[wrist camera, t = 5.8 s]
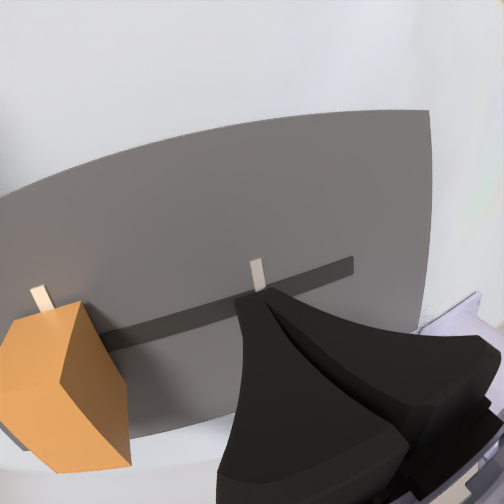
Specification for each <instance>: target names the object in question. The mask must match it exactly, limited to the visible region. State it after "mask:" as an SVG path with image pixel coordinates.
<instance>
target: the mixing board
mask: <svg viewBox="0 0 504 504" xmlns="http://www.w3.org/2000/svg"><path fill="white" fill-rule="evenodd" d="M431 212H432V147H431V129H430V117H429V111H428V110H364V111H345V112H331V113H319V114H308V115H299V116H290V117H282V118H274V119H267V120H260V121H254V122H247V123H241V124H236V125H230V126H225V127H219V128H214V129H209V130H204V131H200V132H195V133H190V134H186V135H182V136H177V137H173V138H169V139H165V140H161V141H157V142H153V143H150V144H146V145H142V146H139V147H135V148H132V149H128V150H125V151H121V152H118V153H115V154H112V155H108V156H105V157H102V158H99V159H96V160H93V161H90V162H87V163H84V164H81V165H79V166H76V167H73V168H70V169H67V170H65V171H62V172H60V173H57V174H54V175H52V176H49V177H47V178H44V179H42V180H39V181H37V182H34V183H32V184H30V185H27V186H25V187H23V188H20V189H18V190H16V191H14V192H12V193H9V194H7V195H5V196H3V197H1V198H0V346H1V344H2V342H3V340H4V338H5V336H6V335H7V333H8V331H9V329H10V327H11V325H12V323H13V321H14V320H17V319H21V318H24V317H27V316H31V315H34V314H37V313H41V312H44V311H48V310H51V309H54V308H58V307H61V306H65V305H68V304H71V303H75V302H78V301H82V303H83V306H84V308H85V310H86V312H87V314H88V316H89V318H90V320H91V322H92V324H93V326H94V328H95V330H96V332H97V334H98V336H99V338H100V339H101V341H102V343H103V345H104V347H105V349H106V350H107V352H108V354H109V356H110V358H111V359H112V361H113V363H114V365H115V366H116V368H117V370H118V371H119V373H120V375H121V376H122V378H123V380H124V381H125V383H126V384H127V409H128V427H129V439H134V438H139V437H144V436H148V435H153V434H158V433H162V432H166V431H170V430H174V429H178V428H182V427H186V426H190V425H194V424H197V423H201V422H204V421H208V420H211V419H214V418H218V417H221V416H224V415H227V414H230V413H234V412H236V409H237V404H238V399H239V392H240V385H241V377H242V365H243V337H242V333H241V329H240V325H239V321H238V317H237V313H236V309H235V305H234V301H235V300H236V298H239V297H242V296H245V295H248V294H251V293H254V292H257V291H260V290H263V289H266V288H269V287H273V288H275V289H277V290H279V291H281V292H283V293H285V294H287V295H289V296H291V297H293V298H295V299H297V300H299V301H301V302H304V303H306V304H308V305H310V306H312V307H315V308H317V309H319V310H322V311H324V312H327V313H329V314H332V315H334V316H337V317H340V318H343V319H346V320H349V321H352V322H355V323H359V324H362V325H366V326H370V327H374V328H378V329H383V330H388V331H394V332H401V333H407V334H409V333H411V332H413V331H414V330H416V329H417V327H418V322H419V317H420V311H421V306H422V300H423V293H424V286H425V279H426V272H427V263H428V254H429V243H430V230H431ZM0 428H1V429H2V431H3V432H4V433H5V434H6V435H7V436H8V437H9V438H10V439H11V440H12V441H13V442H15V443H16V444H17V445H18V446H19V447H20V448H21V449H22V450H23V451H30V450H29V449H28V448H27V447H26V446H25V445H24V444H23V443H21V442H20V441H19V440H18V439H17V438H16V437H15V436H14V435H13V434H12V433H11V432H10V431H9V430H8V428H7V427H6V426H5V425H4V424H3V423H2V422H1V421H0Z"/></svg>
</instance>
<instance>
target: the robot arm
mask: <svg viewBox="0 0 504 504" xmlns="http://www.w3.org/2000/svg"><path fill="white" fill-rule="evenodd" d="M481 297H482V293H480V292H479V291H478V292H476V293H475V294H473V295H472V296H470V297H469V298H468V299H466V300H465V301H463V302H462V303H461V304H459V305H458V306H456V307H455V308H453V309H452V310H450V311H449V312H447V313H446V314H444V315H443V316H441V317H440V318H438V319H437V320H435V321H434V322H432V323H431V324H429V325H427V326H426V327H424V328H423V329H422V330H421V332H420V335H417V334H407V333H401V332H394V331H388V330H383V329H378V328H374V327H370V326H366V325H362V324H359V323H355V322H352V321H349V320H346V319H343V318H340V317H337V316H334V315H332V314H329V313H327V312H324V311H322V310H319V309H317V308H315V307H312V306H310V305H308V304H306V303H304V302H301V301H299V300H297V299H295V298H293V297H291V296H289V295H287V294H285V293H283V292H281V291H279V290H277V289H275V288H273V287H269V288H266V289H263V290H260V291H257V292H254V293H251V294H248V295H245V296H242V297H239V298H236V300H235V301H234V305H235V309H236V313H237V317H238V321H239V325H240V329H241V333H242V337H243V365H242V377H241V385H240V392H239V399H238V404H237V409H236V413H235V417H234V421H233V425H232V429H231V433H230V436H229V440H228V443H227V446H226V449H225V451H224V454H223V457H222V460H221V463H220V465H219V468H218V471H217V486H216V504H429V503H430V502H431V501H433V500H434V499H436V498H437V497H438V496H439V495H441V494H442V493H443V492H444V491H446V490H447V489H448V488H449V487H450V486H452V485H453V484H454V483H455V482H456V481H457V480H458V479H460V478H461V477H462V476H463V475H464V474H465V473H466V472H467V471H468V470H470V469H471V468H472V467H473V466H474V465H475V464H476V463H477V462H478V472H477V473H476V474H474V475H473V476H472V477H471V478H470V479H469V480H468V481H467V482H466V483H465V486H466V487H467V489H468V490H469V491H470V492H471V494H470V495H469V496H468V497H466V499H464V500H463V501H462V502H461V503H460V504H504V334H502V333H501V332H499V331H498V330H496V329H495V328H494V327H492V326H491V325H489V324H488V323H486V322H485V321H483V320H482V319H480V318H479V317H477V316H476V315H477V311H478V308H479V304H480V300H481Z"/></svg>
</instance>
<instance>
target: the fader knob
mask: <svg viewBox="0 0 504 504" xmlns="http://www.w3.org/2000/svg"><path fill="white" fill-rule="evenodd" d="M0 421H1V422H2V423H3V424H4V425H5V426H6V427H7V428H8V430H9V431H10V432H11V433H12V434H13V435H14V436H15V437H16V438H17V439H18V440H19V441H20V442H21V443H23V444H24V445H25V446H26V447H27V448H28V449H29V450H30V451H31V452H32V453H33V454H34V455H36V456H37V457H38V458H39V459H40V460H41V461H42V462H44V463H45V464H46V465H47V466H48V467H49V468H51V469H52V470H53V471H54V472H56V473H75V472H88V471H98V470H107V469H115V468H122V467H129V466H132V462H131V452H130V441H129V427H128V409H127V384H126V383H125V381H124V380H123V378H122V376H121V375H120V373H119V371H118V370H117V368H116V366H115V365H114V363H113V361H112V359H111V358H110V356H109V354H108V352H107V350H106V349H105V347H104V345H103V343H102V341H101V339H100V338H99V336H98V334H97V332H96V330H95V328H94V326H93V324H92V322H91V320H90V318H89V316H88V314H87V312H86V310H85V308H84V306H83V303H82V301H78V302H75V303H71V304H68V305H65V306H61V307H58V308H54V309H51V310H48V311H44V312H41V313H37V314H34V315H31V316H27V317H24V318H21V319H17V320H14V321H13V323H12V325H11V327H10V329H9V331H8V333H7V335H6V336H5V338H4V340H3V342H2V344H1V346H0Z"/></svg>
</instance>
